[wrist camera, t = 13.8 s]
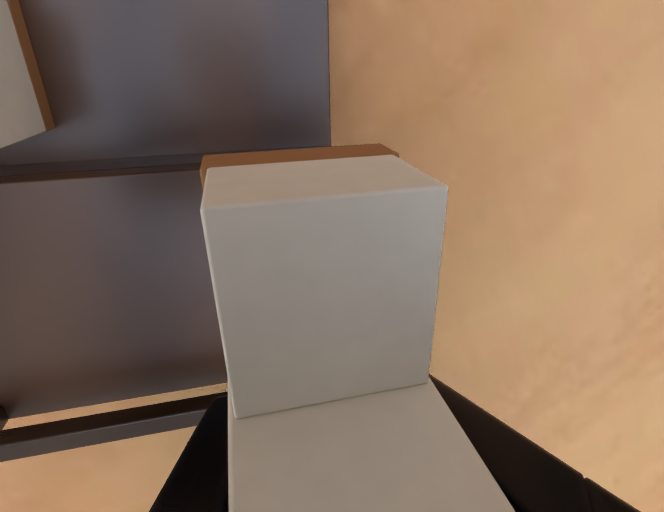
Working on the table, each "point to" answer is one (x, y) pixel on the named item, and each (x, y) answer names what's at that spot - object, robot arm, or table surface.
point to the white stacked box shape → (19, 81)
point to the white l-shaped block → (334, 334)
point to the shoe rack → (136, 201)
